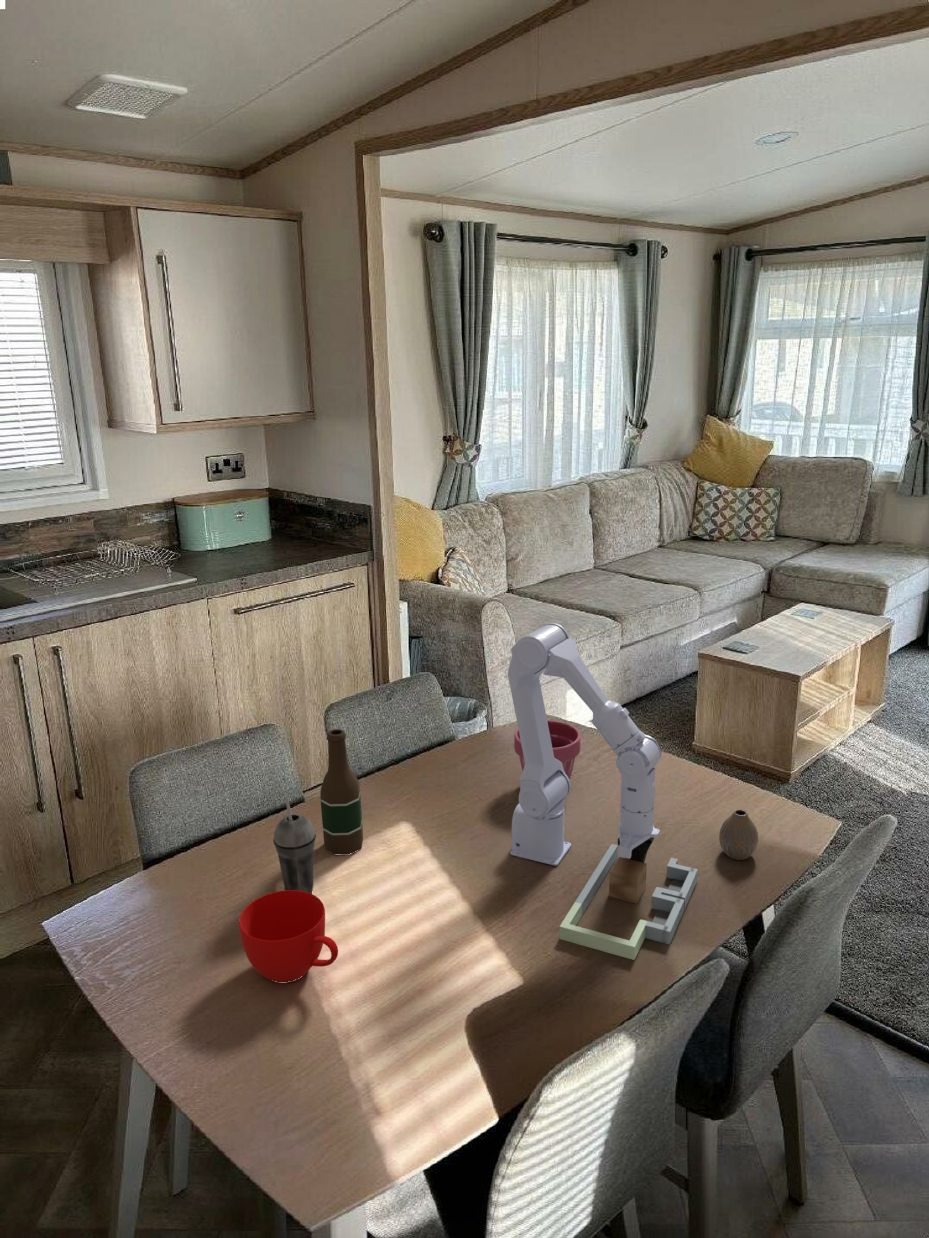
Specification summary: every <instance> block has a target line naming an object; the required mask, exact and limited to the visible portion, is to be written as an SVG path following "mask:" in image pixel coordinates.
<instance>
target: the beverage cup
mask: <svg viewBox="0 0 929 1238" xmlns="http://www.w3.org/2000/svg"><path fill="white" fill-rule="evenodd" d="M284 799H285V804H286V809H287V810H286V811H287V814H288V815H286V816H285V817H283V818H281V820H280V821H279V822H278V823H277V824H276V826H275V829H274V832H273V842H272V843H273V845H274V847H275V850H276V852H277V856H278V861H279V866H280V871H281V876H282V881H283V886H284V890H298V891H304V892H308V893H311V894H312V891H313V892H314V889H313V888H314V864H315V863H314V858H315V857H314V849H315V844H316V837H317V835H316V832H315V829H314V826H313V824H312V822H311V821H310V820H309V819H308V818H306V817H305V816H303V815H301V814H297V813H295V814H293V813H292V811H291V806H290V801H289V796H284Z"/></svg>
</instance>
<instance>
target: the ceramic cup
mask: <svg viewBox="0 0 929 1238" xmlns="http://www.w3.org/2000/svg"><path fill="white" fill-rule="evenodd" d="M238 928H239V935H240V938H241V943H242V948H243V950H244V953H245V956H246V958H247V959H248V961H249V963H250V965H251V966H252V967H253V968H254V970H256V971H257V972H258V974H259V975H261V976H263V977H265V978H266V979H268V980H269V979H270V980H269V981H271V980H273V981H277V982H288V981H293V980H295V979H298V978H300V977H301V976H303V975H304V974H305V973H306V972H307V973H308V972H309V970H311V968H313V967H320V968H322V967H327V966H330V965H332V964H333V963H334V962H335V961H336V959H337V958H338V955H339V948H338V945H337V943H336V942H335V940H334V939H332V938H331V937H329V936H326V935H325V934H326V933H325V932H326V909H325V905H324V902H322V900H321V899H320V898H319V897H318V896H317V895H315V894H311V893H308V892H304V891H298V890H285V889H284V890H278V891H273V892H270V893H267V894H264V895H262V896H259V897H258V898H256V899H255V900H253V901H251V902H250V903H249V904H248V905H246V906H245V907H244V908H243V910H242V912H241V913H240V916H239V920H238ZM324 945H325V946H327V948H328V949H329V952H330V955H331V956H330V958H328V959H319V957H320V954H321V951H322V949H323V946H324ZM307 973H306V974H307ZM306 974H305V975H306ZM305 975H304V976H305ZM304 976H303V977H304ZM300 979H301V978H300Z"/></svg>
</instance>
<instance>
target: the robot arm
mask: <svg viewBox="0 0 929 1238" xmlns="http://www.w3.org/2000/svg"><path fill="white" fill-rule="evenodd" d="M510 652H511V658H510V662H509V666H508V669H507V677H508V682H509V683H508V684H509V690H510V692H511V693H510V695H511V697H512V704H513V708H514V715H515V719H516V723H517V728H518V730H519V735H520V740H521V745H522V750H523V755H524V760H525V766H524V769H523V772H522V771H521V772H522V773H521V774H520V777H519V785H520V789H519V794H518V802H519V803H518V804H517V805H516V806H515V809H514V811H513V814H512V819H511V850H510V853H509V854H510V855H511V856H515V857H519V858H522V859H526V860H531V861H535V862H539V863H543V864H545V865H546V864H547V865H552V866H555V867H556V866H558V865H559V864H560V863H561V861H562V860H563V858H564V856H565V855H566V854H567V853H568V852H569V850H570V848H571V847H572V843H571V842H568V841H565V798H566V797H568V796H569V794H570V791H571V789H572V786H571V779H570V780H569V778H568V776H567V775H566V773H565V772H564V769H563V765H562V762H560V761H559V760H557V759H555V758H554V754H553V749H552V743H551V738H550V733H549V728H548V722H547V720H548V718H547V712H546V707H545V702H544V697H543V691H542V686H541V681H540V677H541V676H542V674H543V675H544V676H549V677H558V678H562V679H564V681H566V683H567V684H568V685H569V686H570V688H572V690H573V691H574V692H575V693H576V694H577V696H578V697H579V698H580V699H581V701H583V703H584V704H585V705H586V706H587V707H588V708H589V710H590V711H591V712H592V724H593V726H594V727H595V728H596V730H597V731H598V733H599V734H600V735H601V737H602V738H603V740H604V741H605V742H606V743H607V745H608V746H609V747H610V748H611V750H612V752H614V754H615V755H616V756H617V759H615V764H616V768H617V770H618V772H619V773H620V775H621V780H620V781H621V782H620V783H621V784H620V809H619V811H620V814H619V815H620V817H619V818H620V819H619V825H618V836H619V837H618V839H617V845H618V858H619V857H622V858H626V859H630V860H634V861H638V862H642V863H646V862H645V861H646V858H647V854H648V851H649V849H650V847H651V845H652V844H653V841H654V840H655V839H657V838H659V836H660V833H661V830H660V829H659V828H656V827H655V826H654V813H655V791H656V790H655V789H656V765H658V764H659V762H660V759H661V757H662V750H661V747H660V745H659V744H658V742H657V739H655V738H654V737H652V736H650V735H648V734H645V733H644V732H643V731H642V730H640V729H639V728H638V726H637V725H636V723H635V722H634V721H633V720H632V718H631V717H630V716H629V715H630V712H629V711H628V709H627V708H626V707H622V705H621V703H619V702H615V701H611V700H609V699H608V697H607V696H606V694H605V693H604V691H603V690H602V688H601V687H600V685H599V683H598V682H597V680H596V679H595V677H594V676H593V674H592V673H591V672H590V670H589V668H588V666H587V665H586V663H585V662H584V660H583V659H582V657H581V655H580V653H579V650H578V646H577V643H576V641H575V640H574V639H573V638H572V637H570V636H569V633H568V631H567V630H566V628H564V627H563V626H562V625H561V624H559V623H557V622H547V623H546V624H544V625H543V626H541V627H540V628H538V629H537V630H535V631H533V632H532V633H529V634H528V635H525V636H523V637H521V638H519V639H518V640H517V641H516V642H515V643H514V644H513V646H512V647H511V648H510Z"/></svg>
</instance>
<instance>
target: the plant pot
mask: <svg viewBox="0 0 929 1238" xmlns="http://www.w3.org/2000/svg"><path fill="white" fill-rule="evenodd" d="M547 722H548V728H549V733H550V738H551V743H552V749H553V754H554V758H555V759H557V760H559V761H560V762H562V765H563V769H564V772H565V773H566V775H567V776H568V778H569V780H570V781H571V777H572V772H573V768H574V764H575V762H576V761H575V760H576V757H577V756H579V755H580V752H581V744H582V743H581V741H582V740H581V733H580V731H579V729H577V728H576V726H574V725H572V724H569V723H567V722H562V721H558V720H550V719H549V720H548V719H547ZM513 737H514V741H513V742H514V743H513V749H514V752H515V753H516V754H517V756H518V757H519V763H520V767H521V772H523V769H524V766H525V760H524V755H523V750H522V745H521V740H520V735H519V730H518V727H517V728H516V730H515V732H514V736H513Z"/></svg>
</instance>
